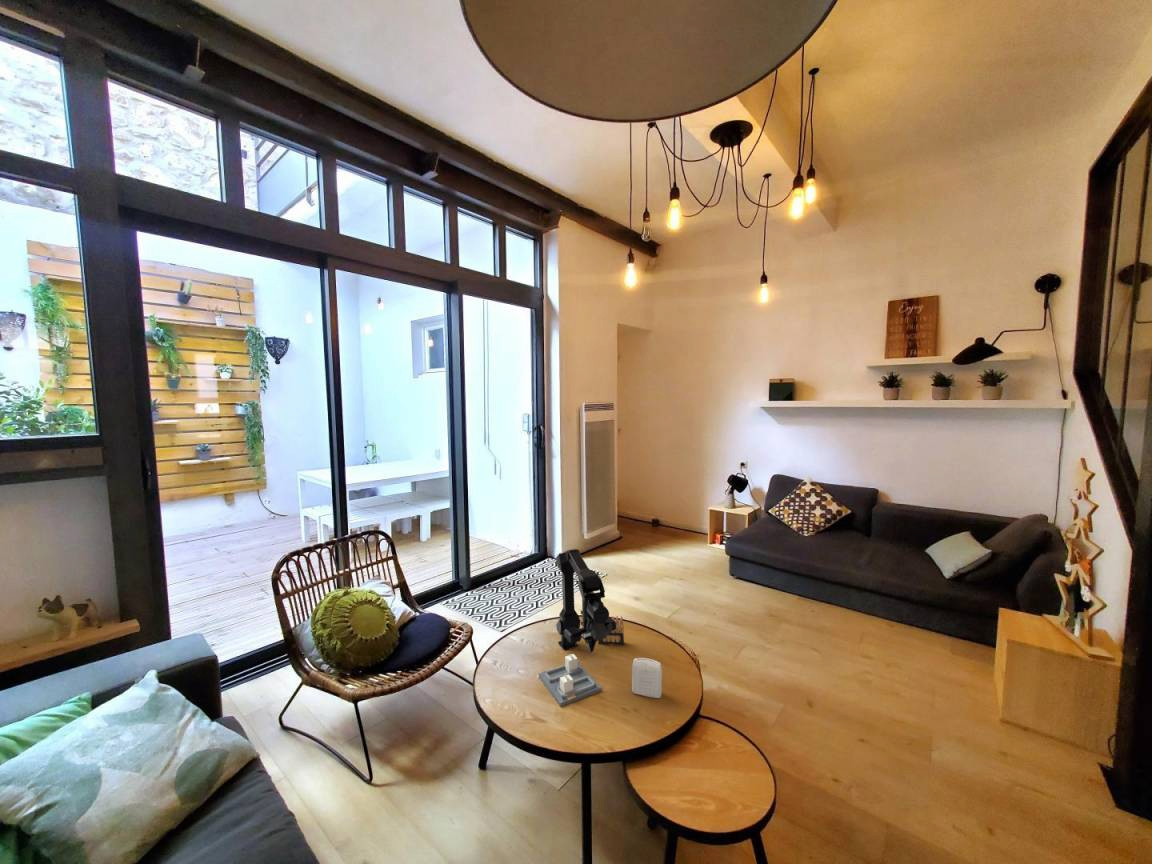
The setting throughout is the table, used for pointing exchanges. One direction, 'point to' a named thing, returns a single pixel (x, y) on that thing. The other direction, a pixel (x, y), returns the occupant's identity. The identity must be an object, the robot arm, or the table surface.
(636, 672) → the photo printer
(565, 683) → the white block
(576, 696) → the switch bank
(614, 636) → the ammunition clip
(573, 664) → the white rectangular block
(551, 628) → the table surface
